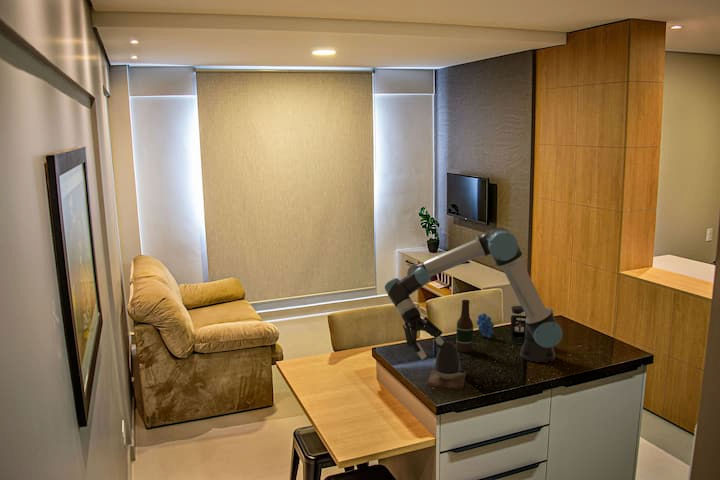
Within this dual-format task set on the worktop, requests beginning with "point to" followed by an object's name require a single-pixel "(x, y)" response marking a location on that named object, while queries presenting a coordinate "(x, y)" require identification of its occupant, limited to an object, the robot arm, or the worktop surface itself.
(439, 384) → the walnut board
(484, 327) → the grapes
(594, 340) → the worktop surface
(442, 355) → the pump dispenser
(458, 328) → the beer bottle
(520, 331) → the french press
